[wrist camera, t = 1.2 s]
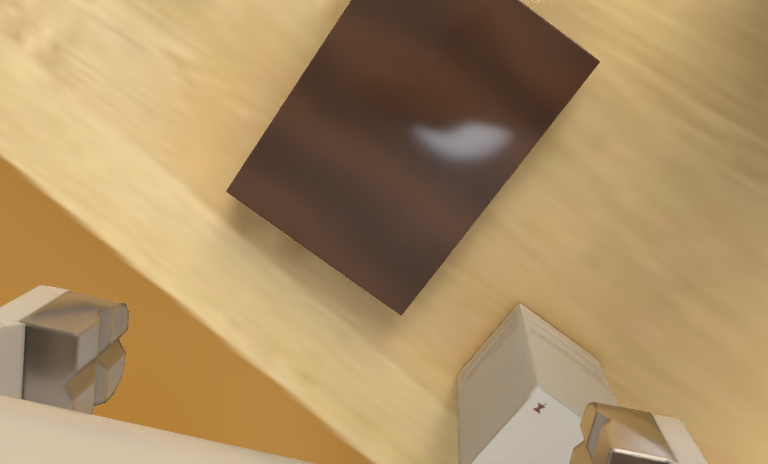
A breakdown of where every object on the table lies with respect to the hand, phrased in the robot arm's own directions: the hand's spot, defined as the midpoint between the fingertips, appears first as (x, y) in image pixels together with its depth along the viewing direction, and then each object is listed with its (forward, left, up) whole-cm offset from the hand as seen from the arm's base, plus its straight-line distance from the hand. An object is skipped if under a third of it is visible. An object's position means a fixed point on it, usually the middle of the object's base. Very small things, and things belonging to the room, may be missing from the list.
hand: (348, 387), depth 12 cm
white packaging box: (+9, +15, -36) cm, 40 cm away
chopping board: (0, -2, -36) cm, 36 cm away
